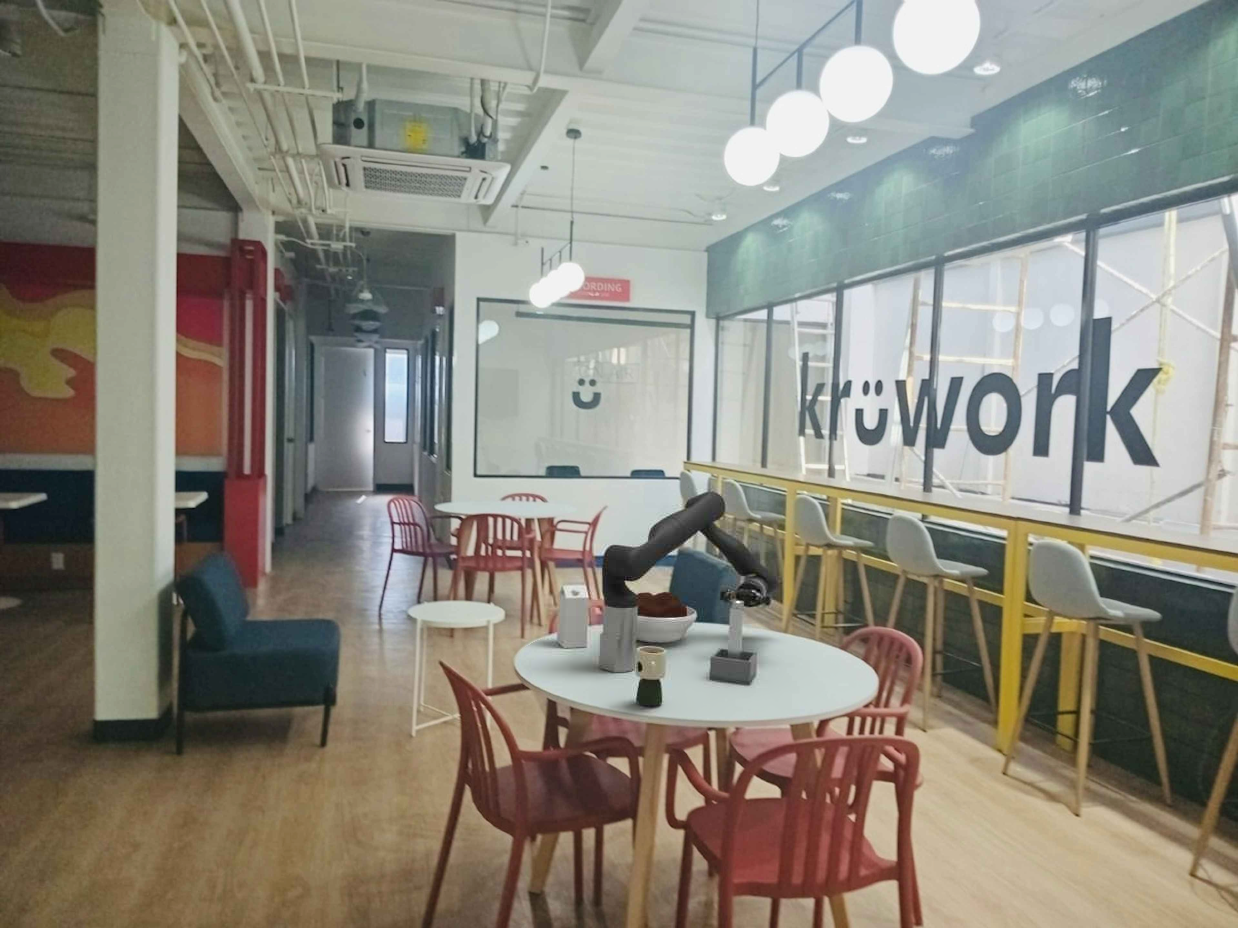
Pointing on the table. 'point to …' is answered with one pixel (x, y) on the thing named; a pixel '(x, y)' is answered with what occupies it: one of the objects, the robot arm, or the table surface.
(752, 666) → the holder
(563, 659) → the table surface
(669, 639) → the bowl of brownies
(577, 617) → the milk carton
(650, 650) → the character mug
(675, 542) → the robot arm
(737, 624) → the brushed steel column
